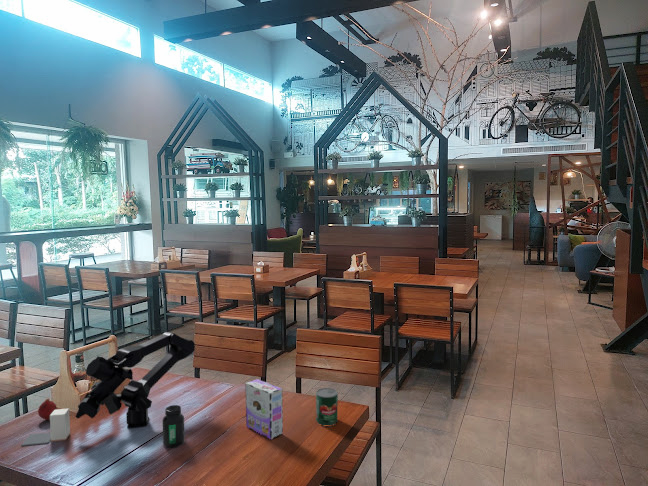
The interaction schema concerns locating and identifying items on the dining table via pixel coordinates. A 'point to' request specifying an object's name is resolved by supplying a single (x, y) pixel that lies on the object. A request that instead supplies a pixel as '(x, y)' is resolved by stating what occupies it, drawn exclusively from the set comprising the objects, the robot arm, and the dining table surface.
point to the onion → (46, 409)
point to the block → (59, 424)
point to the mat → (37, 439)
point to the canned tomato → (326, 406)
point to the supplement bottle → (173, 427)
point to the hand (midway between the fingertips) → (76, 417)
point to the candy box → (264, 408)
